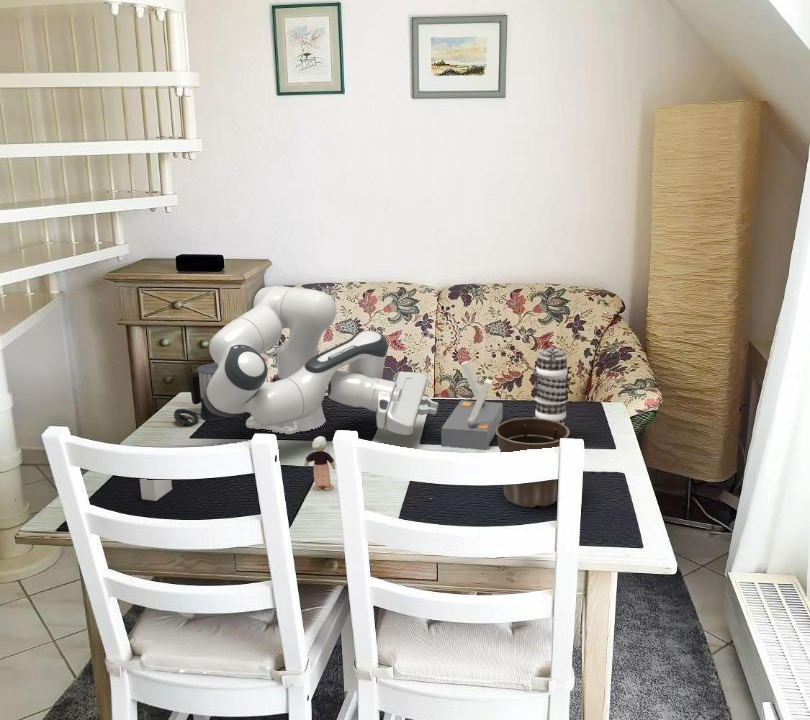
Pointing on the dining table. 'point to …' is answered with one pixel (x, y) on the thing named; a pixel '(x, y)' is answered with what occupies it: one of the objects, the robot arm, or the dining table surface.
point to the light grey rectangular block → (154, 488)
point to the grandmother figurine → (321, 464)
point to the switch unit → (471, 436)
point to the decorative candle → (551, 385)
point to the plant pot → (526, 437)
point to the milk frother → (198, 395)
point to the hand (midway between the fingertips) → (437, 408)
